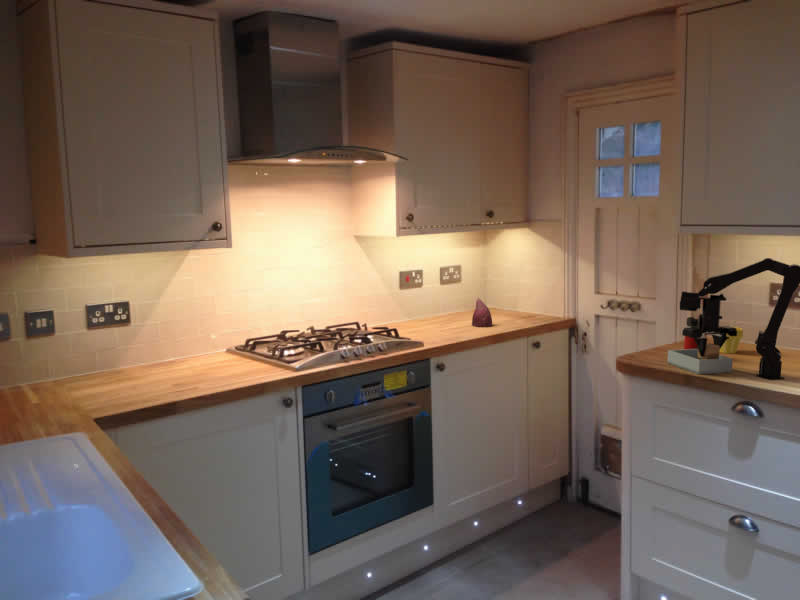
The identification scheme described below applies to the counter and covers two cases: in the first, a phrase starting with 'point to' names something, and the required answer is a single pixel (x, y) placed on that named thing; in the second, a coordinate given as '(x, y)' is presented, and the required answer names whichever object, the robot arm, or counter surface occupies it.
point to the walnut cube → (710, 352)
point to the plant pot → (732, 342)
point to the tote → (699, 362)
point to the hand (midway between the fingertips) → (708, 355)
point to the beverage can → (690, 342)
